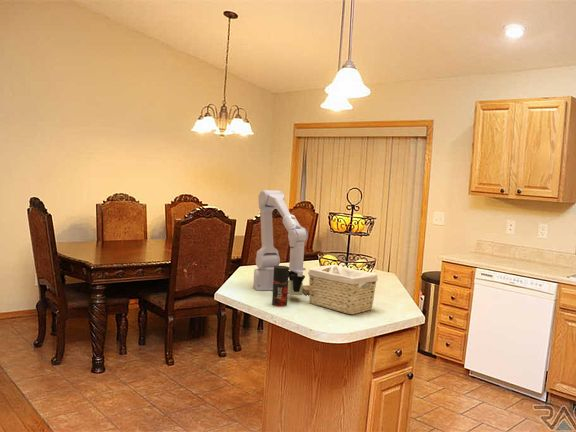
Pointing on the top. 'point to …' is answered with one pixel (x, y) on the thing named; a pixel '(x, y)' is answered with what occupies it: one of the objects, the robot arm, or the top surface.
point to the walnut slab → (306, 290)
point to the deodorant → (280, 286)
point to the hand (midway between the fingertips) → (294, 289)
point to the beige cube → (291, 290)
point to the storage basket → (342, 288)
